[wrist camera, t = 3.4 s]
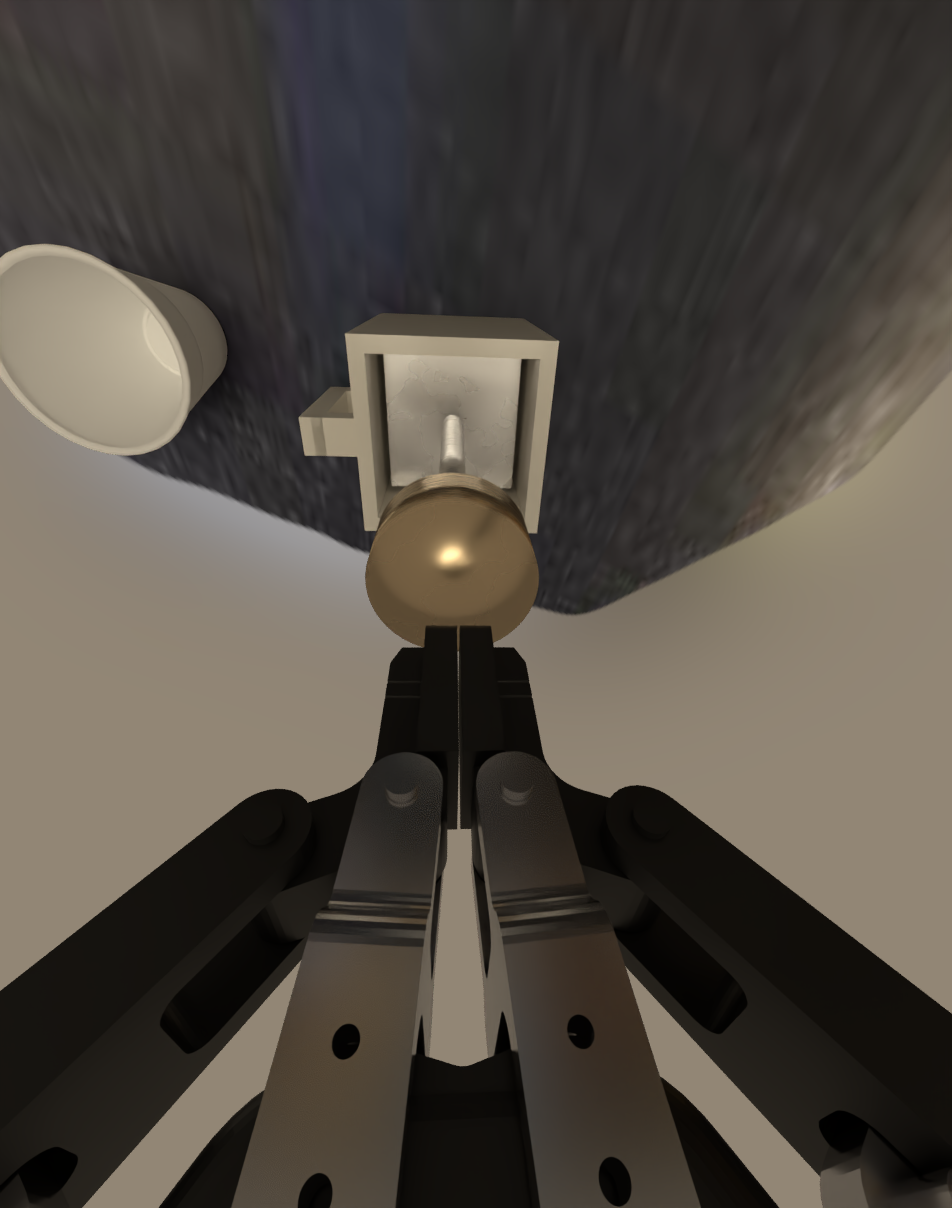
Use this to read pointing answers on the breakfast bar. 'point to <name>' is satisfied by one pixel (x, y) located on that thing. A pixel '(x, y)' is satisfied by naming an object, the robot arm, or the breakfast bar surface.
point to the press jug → (360, 410)
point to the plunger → (451, 500)
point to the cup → (103, 349)
